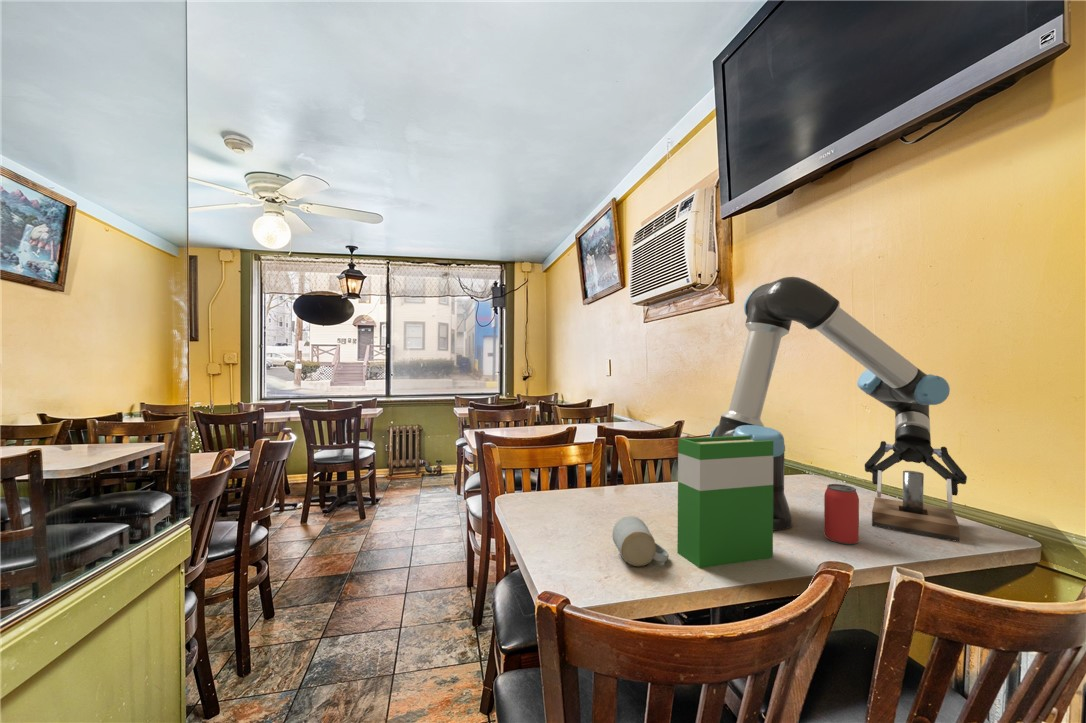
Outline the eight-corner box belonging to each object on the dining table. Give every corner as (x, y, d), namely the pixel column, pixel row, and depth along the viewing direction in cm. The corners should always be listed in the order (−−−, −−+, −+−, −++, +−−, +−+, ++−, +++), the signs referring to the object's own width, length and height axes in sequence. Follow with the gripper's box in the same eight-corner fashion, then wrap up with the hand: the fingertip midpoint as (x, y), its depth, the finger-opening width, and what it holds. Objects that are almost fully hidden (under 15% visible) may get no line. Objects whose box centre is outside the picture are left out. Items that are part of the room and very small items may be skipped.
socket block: (872, 525, 113) (872, 511, 113) (875, 510, 125) (875, 497, 125) (959, 541, 103) (959, 526, 103) (953, 522, 115) (953, 509, 115)
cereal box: (746, 544, 100) (747, 435, 100) (772, 557, 93) (773, 441, 93) (677, 553, 95) (678, 438, 95) (699, 568, 88) (700, 444, 88)
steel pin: (902, 520, 114) (902, 472, 114) (902, 516, 117) (903, 469, 117) (923, 524, 111) (923, 475, 111) (923, 519, 114) (923, 472, 114)
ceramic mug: (620, 569, 87) (621, 529, 87) (611, 551, 95) (612, 515, 95) (674, 569, 88) (675, 529, 88) (660, 551, 96) (661, 515, 96)
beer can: (864, 546, 99) (864, 491, 99) (831, 544, 101) (831, 489, 101) (850, 535, 106) (850, 484, 106) (819, 533, 107) (819, 482, 107)
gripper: (973, 446, 118) (981, 518, 106) (857, 436, 134) (853, 498, 122) (976, 427, 114) (984, 501, 102) (856, 419, 130) (851, 482, 118)
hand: (913, 499), depth 112 cm, fingers open, 13 cm apart
